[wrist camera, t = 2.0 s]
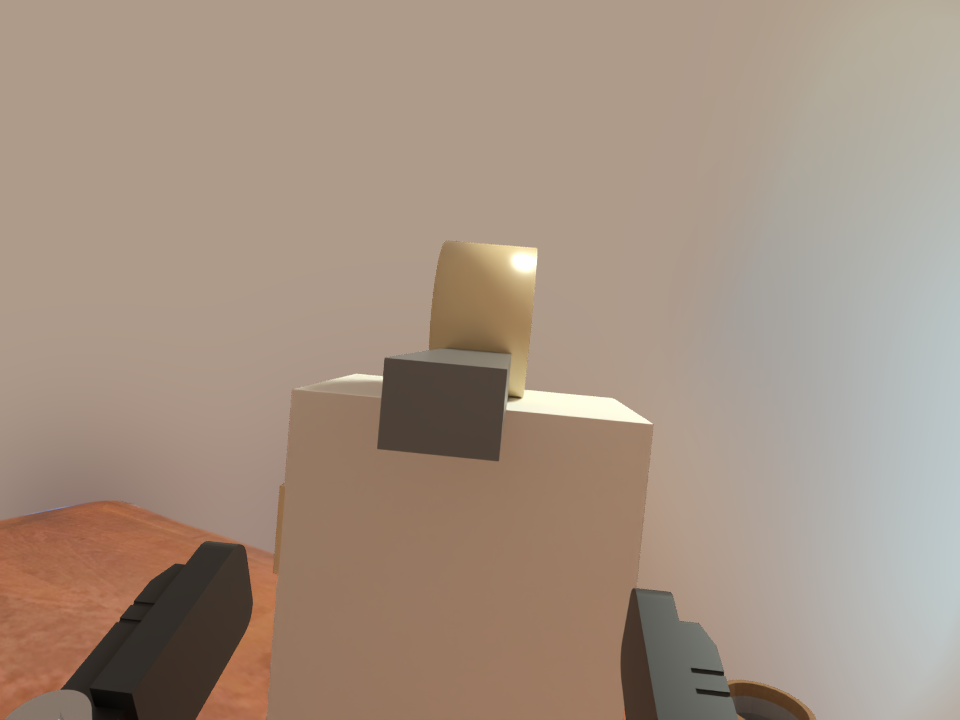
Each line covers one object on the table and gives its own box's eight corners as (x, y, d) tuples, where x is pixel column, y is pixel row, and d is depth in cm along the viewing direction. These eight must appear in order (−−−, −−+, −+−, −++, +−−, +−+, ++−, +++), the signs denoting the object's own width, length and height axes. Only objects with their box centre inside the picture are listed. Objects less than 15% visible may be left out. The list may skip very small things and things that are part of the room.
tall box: (321, 767, 50) (353, 373, 49) (572, 800, 49) (613, 398, 48) (244, 936, 36) (287, 388, 35) (595, 987, 35) (653, 424, 34)
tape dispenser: (443, 383, 47) (455, 251, 47) (522, 390, 47) (534, 258, 47) (346, 446, 20) (372, 137, 20) (529, 464, 20) (559, 151, 20)
